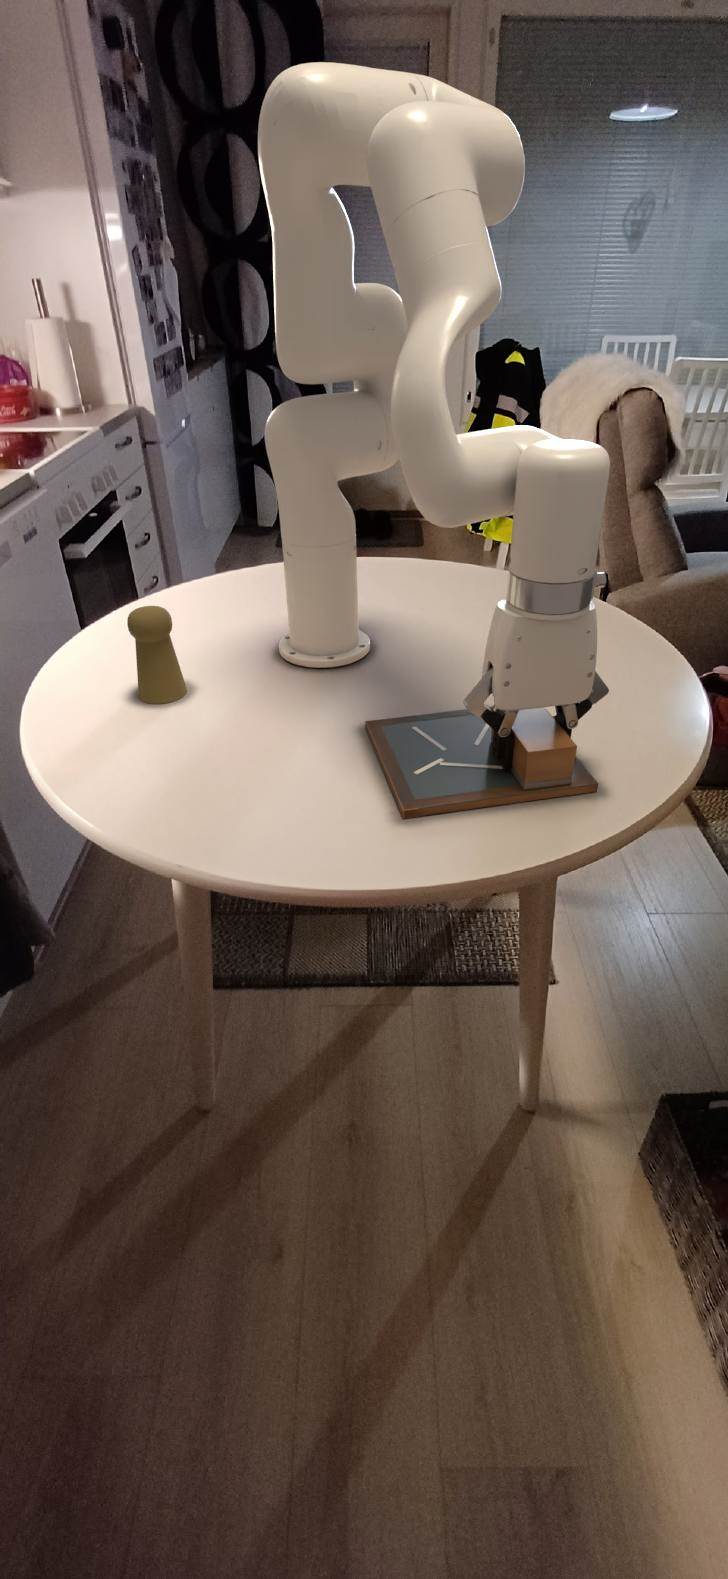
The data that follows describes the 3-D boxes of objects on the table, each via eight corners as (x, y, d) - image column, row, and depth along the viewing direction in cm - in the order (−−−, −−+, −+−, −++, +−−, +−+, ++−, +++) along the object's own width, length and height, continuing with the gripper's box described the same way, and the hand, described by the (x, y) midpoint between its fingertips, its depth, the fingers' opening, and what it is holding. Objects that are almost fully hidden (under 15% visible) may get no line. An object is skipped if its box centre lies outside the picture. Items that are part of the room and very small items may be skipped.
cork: (175, 705, 95) (160, 620, 88) (130, 702, 96) (111, 617, 89) (194, 683, 99) (181, 601, 93) (150, 680, 101) (134, 599, 94)
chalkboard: (365, 728, 89) (365, 720, 88) (529, 708, 92) (530, 701, 91) (403, 818, 74) (403, 810, 74) (597, 791, 77) (598, 783, 77)
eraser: (490, 740, 84) (493, 704, 82) (534, 734, 85) (538, 699, 82) (523, 790, 76) (527, 752, 74) (571, 784, 77) (577, 746, 74)
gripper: (617, 569, 74) (590, 733, 85) (446, 584, 72) (440, 751, 82) (656, 596, 68) (622, 769, 79) (471, 613, 66) (461, 790, 76)
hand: (529, 758), depth 80 cm, fingers closed on eraser, 5 cm apart
